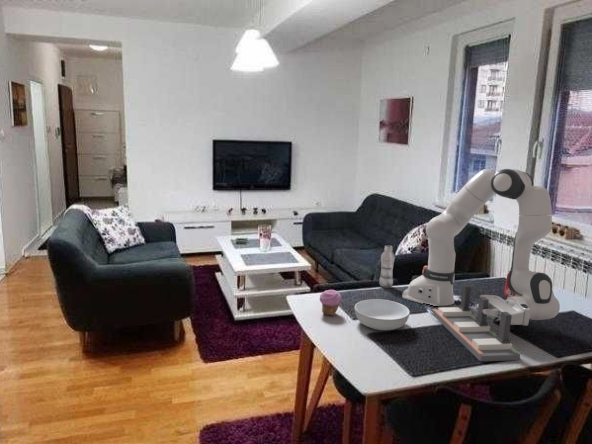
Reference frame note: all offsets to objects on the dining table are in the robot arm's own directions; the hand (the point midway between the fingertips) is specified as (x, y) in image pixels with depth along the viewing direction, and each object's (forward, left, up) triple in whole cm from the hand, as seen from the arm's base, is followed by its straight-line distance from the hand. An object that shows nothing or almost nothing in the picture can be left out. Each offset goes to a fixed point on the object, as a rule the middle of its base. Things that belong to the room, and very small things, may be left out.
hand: (480, 308), depth 173 cm
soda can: (+11, +51, -10) cm, 53 cm away
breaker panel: (-2, -1, -10) cm, 10 cm away
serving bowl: (-34, -10, -10) cm, 37 cm away
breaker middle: (+1, +1, -6) cm, 6 cm away
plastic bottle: (-44, +34, -10) cm, 56 cm away
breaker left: (-6, +12, -6) cm, 15 cm away
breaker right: (+9, -11, -6) cm, 15 cm away
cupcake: (-55, -10, -10) cm, 57 cm away
